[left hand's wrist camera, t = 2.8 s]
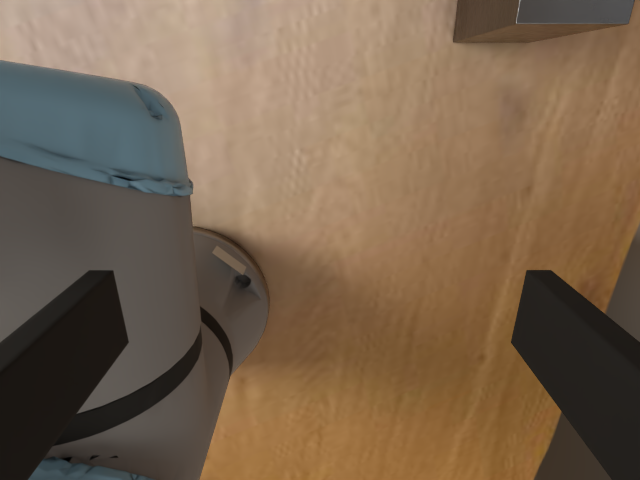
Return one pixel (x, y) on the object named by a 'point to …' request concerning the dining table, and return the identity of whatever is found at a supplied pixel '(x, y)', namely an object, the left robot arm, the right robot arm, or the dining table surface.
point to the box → (535, 18)
